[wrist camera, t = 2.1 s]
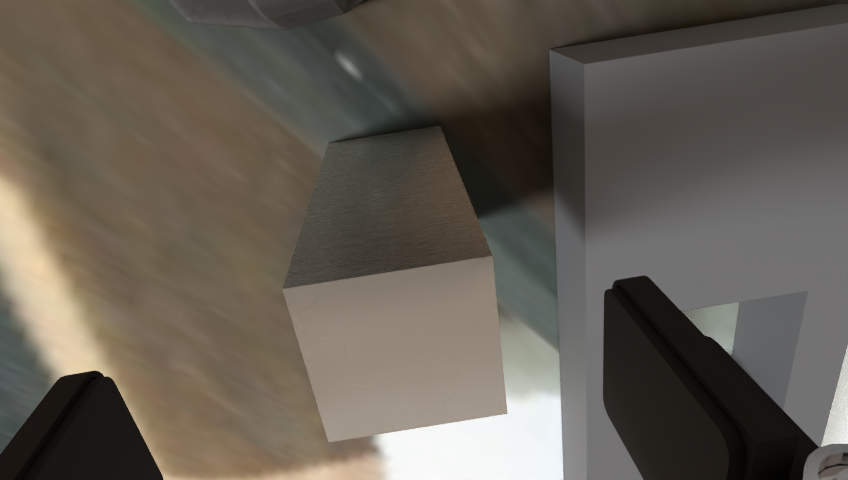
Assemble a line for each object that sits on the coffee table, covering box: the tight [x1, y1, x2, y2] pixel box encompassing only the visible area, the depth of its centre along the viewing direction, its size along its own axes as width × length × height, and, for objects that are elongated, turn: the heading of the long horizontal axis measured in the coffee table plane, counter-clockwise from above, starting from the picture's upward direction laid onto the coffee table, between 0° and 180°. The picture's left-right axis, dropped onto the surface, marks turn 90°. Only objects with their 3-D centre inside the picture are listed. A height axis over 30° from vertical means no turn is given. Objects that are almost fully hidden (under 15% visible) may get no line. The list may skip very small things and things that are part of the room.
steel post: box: [283, 126, 507, 442], centre depth 15 cm, size 4×4×10 cm
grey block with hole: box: [549, 4, 848, 480], centre depth 22 cm, size 10×24×4 cm, turn 8°
